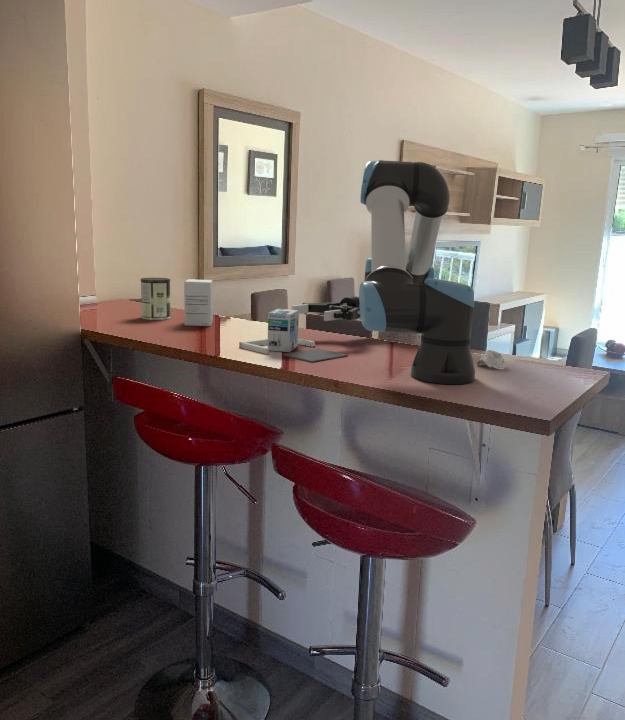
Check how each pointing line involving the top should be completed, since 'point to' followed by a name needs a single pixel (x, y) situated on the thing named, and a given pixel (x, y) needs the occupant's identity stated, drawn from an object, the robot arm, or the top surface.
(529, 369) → the top surface
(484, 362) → the whitish grey rock
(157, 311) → the coffee can
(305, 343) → the grey bent bar
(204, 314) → the supplement box
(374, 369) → the top surface
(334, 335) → the top surface
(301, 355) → the rubber mat
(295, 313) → the light bulb box
